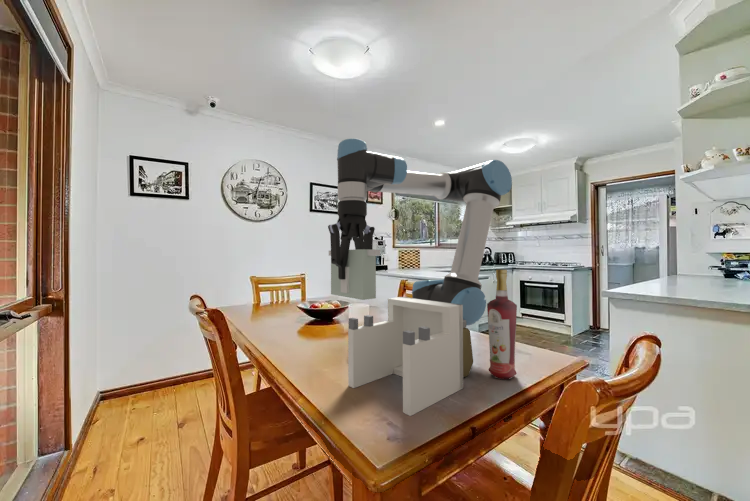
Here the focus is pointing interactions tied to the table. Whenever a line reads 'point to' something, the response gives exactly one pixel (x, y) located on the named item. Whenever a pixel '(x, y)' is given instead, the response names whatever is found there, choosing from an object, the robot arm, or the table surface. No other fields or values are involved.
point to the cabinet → (410, 350)
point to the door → (357, 275)
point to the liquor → (502, 330)
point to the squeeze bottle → (467, 351)
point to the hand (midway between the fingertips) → (352, 291)
